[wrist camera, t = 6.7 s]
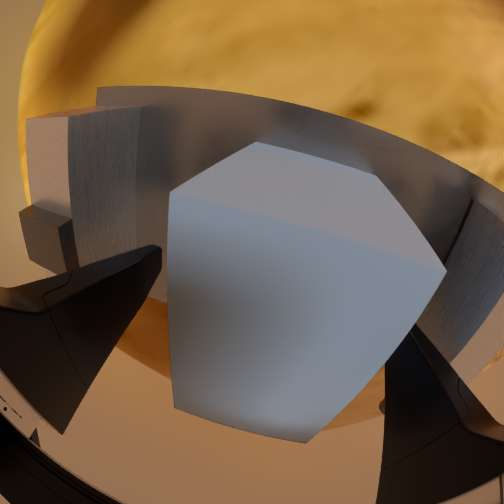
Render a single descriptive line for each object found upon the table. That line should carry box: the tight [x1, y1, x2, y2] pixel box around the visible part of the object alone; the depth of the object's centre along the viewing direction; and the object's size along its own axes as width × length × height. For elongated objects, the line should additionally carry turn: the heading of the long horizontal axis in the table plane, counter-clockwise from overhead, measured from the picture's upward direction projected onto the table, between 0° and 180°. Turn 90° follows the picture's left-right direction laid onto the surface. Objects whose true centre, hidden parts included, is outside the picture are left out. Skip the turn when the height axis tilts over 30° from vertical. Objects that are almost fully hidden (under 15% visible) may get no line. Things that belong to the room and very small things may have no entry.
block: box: [167, 142, 447, 443], centre depth 9 cm, size 5×8×7 cm, turn 169°
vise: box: [19, 86, 504, 304], centre depth 10 cm, size 22×12×6 cm, turn 79°
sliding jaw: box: [379, 199, 504, 415], centre depth 9 cm, size 2×15×4 cm, turn 169°
